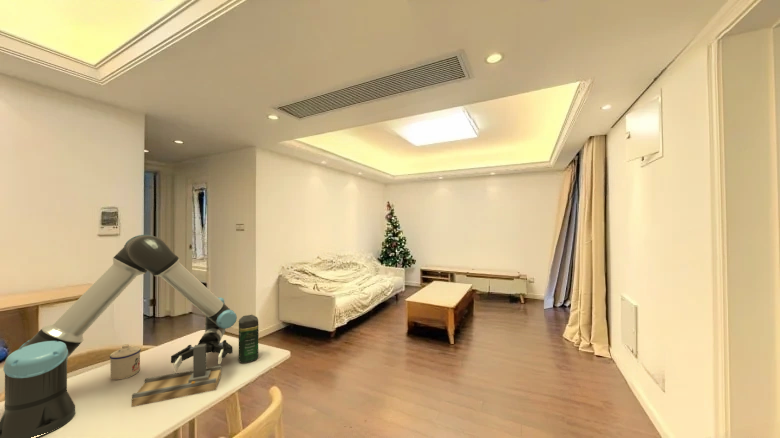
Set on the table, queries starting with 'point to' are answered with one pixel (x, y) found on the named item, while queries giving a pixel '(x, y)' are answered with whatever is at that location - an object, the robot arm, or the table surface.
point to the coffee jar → (248, 338)
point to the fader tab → (199, 364)
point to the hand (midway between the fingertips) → (197, 364)
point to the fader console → (174, 386)
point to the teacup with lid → (125, 362)
